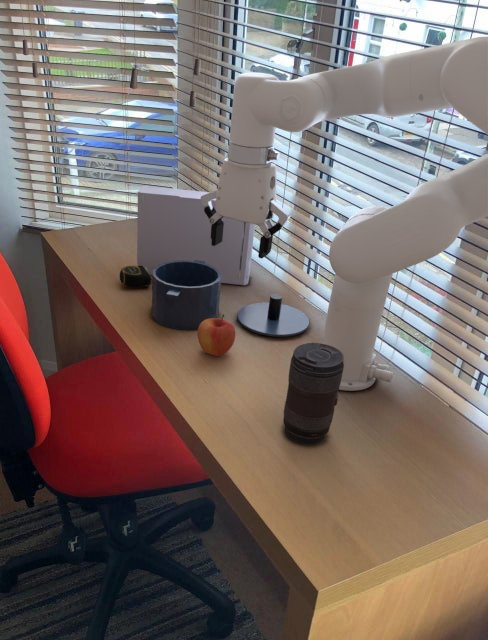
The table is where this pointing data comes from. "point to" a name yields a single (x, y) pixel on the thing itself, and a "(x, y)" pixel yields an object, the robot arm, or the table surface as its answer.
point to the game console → (190, 234)
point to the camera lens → (312, 392)
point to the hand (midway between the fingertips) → (239, 249)
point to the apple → (216, 336)
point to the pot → (185, 293)
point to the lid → (273, 318)
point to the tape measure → (134, 276)
